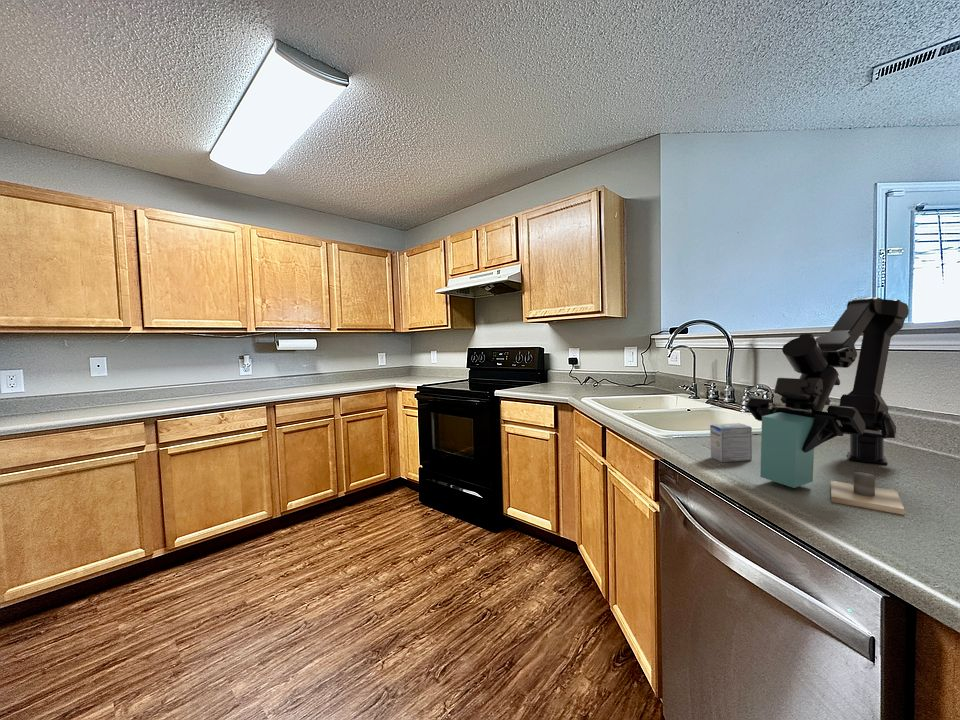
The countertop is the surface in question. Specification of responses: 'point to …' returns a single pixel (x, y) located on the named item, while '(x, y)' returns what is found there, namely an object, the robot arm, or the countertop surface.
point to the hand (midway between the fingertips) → (784, 447)
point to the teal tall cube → (786, 449)
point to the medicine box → (731, 442)
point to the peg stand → (866, 494)
